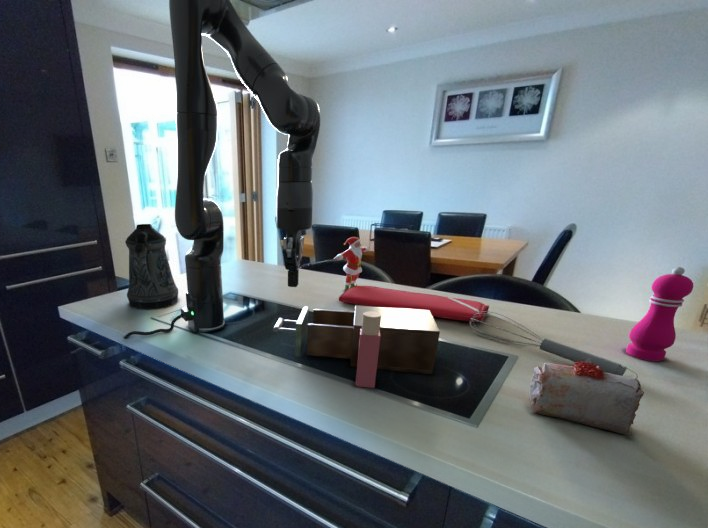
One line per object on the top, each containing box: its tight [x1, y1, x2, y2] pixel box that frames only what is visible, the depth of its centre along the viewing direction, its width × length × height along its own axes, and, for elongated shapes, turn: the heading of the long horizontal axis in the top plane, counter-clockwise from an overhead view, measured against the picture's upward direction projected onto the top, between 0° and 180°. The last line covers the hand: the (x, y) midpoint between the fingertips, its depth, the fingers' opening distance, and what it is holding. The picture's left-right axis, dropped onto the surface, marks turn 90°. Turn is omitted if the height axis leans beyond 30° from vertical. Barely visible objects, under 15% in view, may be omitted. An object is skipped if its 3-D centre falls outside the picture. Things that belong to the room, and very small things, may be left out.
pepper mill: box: [625, 266, 694, 362], centre depth 83 cm, size 7×7×20 cm
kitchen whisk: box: [469, 310, 639, 380], centre depth 88 cm, size 6×34×6 cm, turn 33°
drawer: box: [272, 306, 355, 360], centre depth 90 cm, size 21×12×8 cm, turn 76°
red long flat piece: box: [338, 285, 490, 323], centre depth 120 cm, size 16×41×4 cm, turn 54°
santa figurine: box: [333, 236, 370, 292], centre depth 136 cm, size 25×6×19 cm, turn 140°
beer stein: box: [124, 223, 179, 310], centre depth 124 cm, size 16×19×25 cm
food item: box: [529, 359, 645, 436], centre depth 64 cm, size 14×8×10 cm, turn 57°
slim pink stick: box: [355, 311, 381, 389], centre depth 74 cm, size 4×3×15 cm
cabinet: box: [349, 305, 441, 375], centre depth 86 cm, size 17×14×10 cm
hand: (293, 286), depth 88 cm, fingers closed
